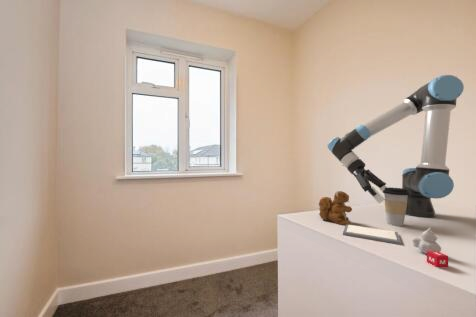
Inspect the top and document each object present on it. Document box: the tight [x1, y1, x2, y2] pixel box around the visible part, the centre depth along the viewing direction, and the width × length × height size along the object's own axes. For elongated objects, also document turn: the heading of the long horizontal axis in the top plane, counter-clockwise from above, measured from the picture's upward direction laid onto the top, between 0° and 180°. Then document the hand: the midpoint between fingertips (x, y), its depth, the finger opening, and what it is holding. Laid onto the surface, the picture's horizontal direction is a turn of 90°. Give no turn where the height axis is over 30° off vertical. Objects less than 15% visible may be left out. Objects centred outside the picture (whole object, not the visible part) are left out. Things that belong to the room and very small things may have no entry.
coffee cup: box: [382, 187, 410, 227], centre depth 97 cm, size 9×9×15 cm
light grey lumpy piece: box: [411, 226, 442, 255], centre depth 67 cm, size 5×7×8 cm
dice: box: [426, 251, 449, 268], centre depth 60 cm, size 3×3×3 cm
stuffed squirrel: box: [318, 190, 353, 226], centre depth 100 cm, size 10×14×13 cm
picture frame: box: [342, 224, 402, 246], centre depth 83 cm, size 17×12×1 cm
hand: (388, 199), depth 99 cm, fingers open, 13 cm apart
